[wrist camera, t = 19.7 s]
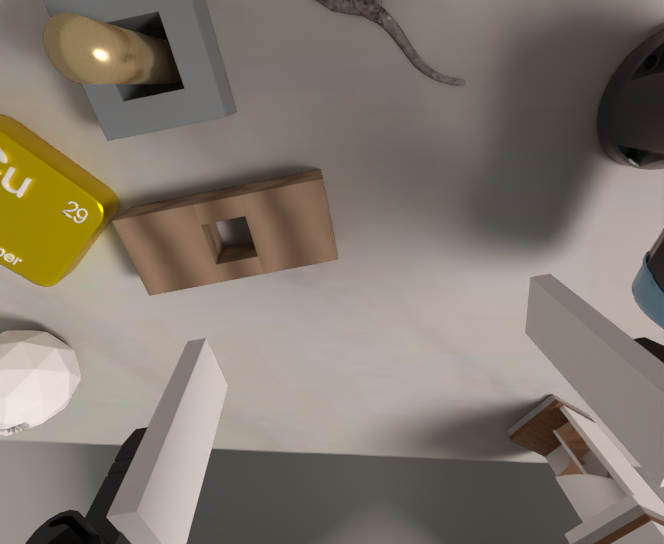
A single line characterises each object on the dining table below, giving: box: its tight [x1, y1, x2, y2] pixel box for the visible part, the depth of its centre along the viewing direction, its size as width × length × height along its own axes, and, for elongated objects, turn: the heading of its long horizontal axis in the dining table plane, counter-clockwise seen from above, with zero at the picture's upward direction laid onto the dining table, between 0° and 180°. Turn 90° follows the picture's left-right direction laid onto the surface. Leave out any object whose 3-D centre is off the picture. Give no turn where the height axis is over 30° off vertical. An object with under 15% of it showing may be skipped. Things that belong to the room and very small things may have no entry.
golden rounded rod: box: [43, 12, 181, 84], centre depth 30 cm, size 4×4×16 cm
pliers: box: [317, 0, 465, 85], centre depth 37 cm, size 10×1×20 cm
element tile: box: [0, 115, 119, 287], centre depth 42 cm, size 15×15×5 cm
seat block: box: [43, 0, 237, 141], centre depth 35 cm, size 12×12×6 cm
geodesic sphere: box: [0, 330, 81, 436], centre depth 48 cm, size 14×14×14 cm
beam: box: [112, 169, 338, 296], centre depth 44 cm, size 24×10×5 cm, turn 100°
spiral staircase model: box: [506, 394, 664, 544], centre depth 53 cm, size 11×11×35 cm
